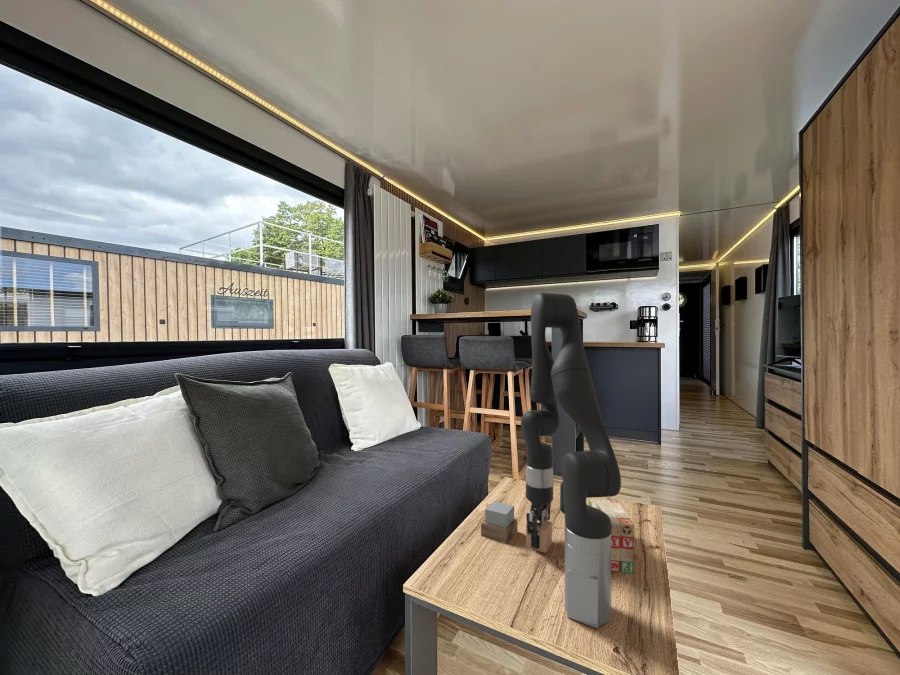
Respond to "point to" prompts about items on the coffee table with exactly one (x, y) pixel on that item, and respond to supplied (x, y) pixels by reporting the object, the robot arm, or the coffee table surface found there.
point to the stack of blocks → (618, 535)
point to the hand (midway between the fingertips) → (539, 542)
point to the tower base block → (499, 531)
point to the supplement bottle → (561, 498)
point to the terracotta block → (542, 537)
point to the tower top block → (499, 514)
